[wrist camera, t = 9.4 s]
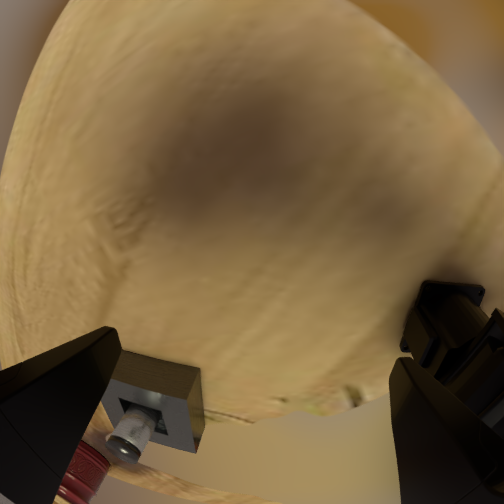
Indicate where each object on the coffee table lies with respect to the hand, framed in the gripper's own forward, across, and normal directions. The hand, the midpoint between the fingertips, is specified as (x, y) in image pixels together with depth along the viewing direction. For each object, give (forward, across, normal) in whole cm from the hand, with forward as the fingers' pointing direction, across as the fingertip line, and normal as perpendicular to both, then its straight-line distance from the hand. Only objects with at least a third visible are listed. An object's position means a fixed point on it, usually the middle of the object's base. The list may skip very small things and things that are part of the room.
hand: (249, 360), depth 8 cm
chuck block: (+12, +16, +18) cm, 27 cm away
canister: (+12, +36, +48) cm, 61 cm away
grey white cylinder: (+11, +11, +18) cm, 24 cm away
